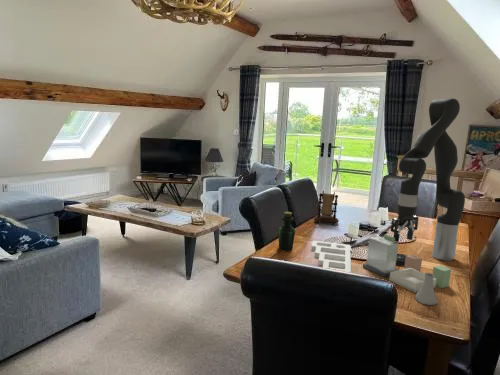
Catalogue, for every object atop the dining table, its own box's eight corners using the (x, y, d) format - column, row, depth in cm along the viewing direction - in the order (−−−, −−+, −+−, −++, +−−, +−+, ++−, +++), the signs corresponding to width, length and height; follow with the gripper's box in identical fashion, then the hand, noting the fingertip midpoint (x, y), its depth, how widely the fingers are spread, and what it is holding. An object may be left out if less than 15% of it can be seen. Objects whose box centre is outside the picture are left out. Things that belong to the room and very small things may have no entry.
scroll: (312, 224, 228) (315, 191, 225) (315, 218, 242) (318, 188, 239) (337, 227, 224) (340, 194, 221) (339, 221, 238) (342, 190, 234)
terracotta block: (410, 269, 163) (412, 254, 161) (419, 273, 159) (422, 258, 158) (403, 271, 160) (405, 255, 159) (412, 275, 157) (414, 259, 155)
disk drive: (409, 260, 176) (376, 255, 180) (410, 255, 175) (377, 250, 179) (412, 268, 166) (377, 263, 170) (413, 262, 165) (378, 257, 169)
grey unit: (379, 263, 167) (382, 231, 165) (401, 274, 157) (405, 239, 155) (362, 267, 163) (366, 233, 160) (384, 277, 152) (388, 242, 150)
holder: (350, 287, 142) (351, 281, 142) (303, 280, 147) (303, 274, 146) (349, 250, 186) (349, 244, 185) (312, 245, 190) (313, 240, 189)
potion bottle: (295, 247, 183) (297, 211, 180) (292, 252, 176) (295, 215, 172) (278, 245, 185) (281, 209, 182) (275, 250, 178) (277, 213, 175)
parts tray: (409, 275, 156) (410, 267, 155) (435, 287, 146) (436, 278, 145) (389, 280, 150) (390, 271, 150) (415, 292, 140) (416, 283, 139)
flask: (430, 296, 137) (434, 270, 136) (441, 306, 130) (445, 279, 129) (411, 296, 137) (414, 270, 135) (420, 305, 130) (424, 278, 128)
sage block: (438, 281, 151) (440, 265, 150) (448, 286, 148) (451, 269, 146) (431, 283, 149) (433, 266, 148) (441, 288, 145) (444, 271, 144)
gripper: (411, 201, 167) (406, 236, 170) (388, 203, 160) (384, 239, 163) (426, 205, 160) (420, 241, 163) (403, 207, 154) (398, 245, 156)
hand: (402, 240), depth 163 cm, fingers open, 8 cm apart
